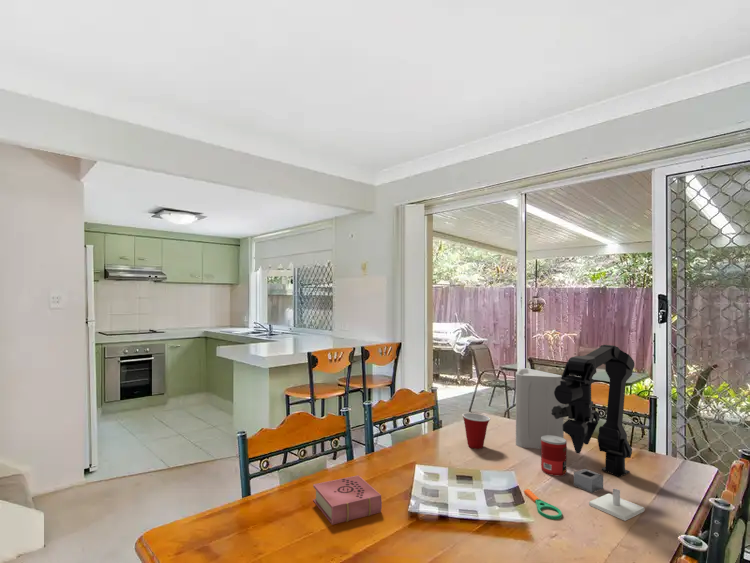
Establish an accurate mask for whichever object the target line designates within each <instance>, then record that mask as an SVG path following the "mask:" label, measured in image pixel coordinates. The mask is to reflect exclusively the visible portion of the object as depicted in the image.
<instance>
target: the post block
mask: <svg viewBox="0 0 750 563" xmlns="http://www.w3.org/2000/svg"><path fill="white" fill-rule="evenodd" d="M588 503H589V504H588V505H589V506H590V507H592V508H594V509H597V510H600V511H602V512H604V513H606V514H608V515H611V516H613V517H615V518H617V519H619V520H622V521H624V522H626V521H627V520H630V519H632V518H634V517H636V516H638V515H640V514H642V513H643V512H645V507H644V506H642V505H639V504H638V503H637V504H636V503H634V502H631V501H630V500H626V499H625V498H622V497H621V490H620V489H618V488H612V493H606V494H603V495H602V496H599V497H597V498H594V499H592V500H590V501H589V502H588Z"/></svg>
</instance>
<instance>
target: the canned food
mask: <svg viewBox="0 0 750 563" xmlns="http://www.w3.org/2000/svg"><path fill="white" fill-rule="evenodd" d="M567 446H568V444H567V439H565V438H562V437H558V436H552V435H546V436H542V437H541V449H540V466H541V471H542V472H543V473H545V474H546V475H550V476H555V477H561V476H565V475H566V473H567V466H568V465H567V460H568V459H567V457H568V456H567V452H568V449H567Z"/></svg>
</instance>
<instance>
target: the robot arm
mask: <svg viewBox="0 0 750 563" xmlns="http://www.w3.org/2000/svg"><path fill="white" fill-rule="evenodd" d="M602 365H605V369H604V370H605V373H606V375H607V377H608V379H609V386H608V397H607V408H606V418H605V423H603V425H600V426H599V428H598V434H597V444H598V449H599V452H602V453H605V466H604V467H601V469H600V470H601V471H603V472H606V473H608V474H611V475H613V476H614V475H615V476H617V477H623V476H625V475H628V474H629V473H630V471H631V470H628V469H626V459H630V458H631V457H632V454H633V448H632V446H631V445H630V443H629V441H628V436H627V435H628V433H627V432H626V429H625V427H624V426H623V421H624V420H623V418H624V407H625V395H626V386H627V384H626V383H627V381H628V380H629V379H630V378H631V377H632V375H633V371H634V368H635V361H634V359H633V357H631V355H630V354H628V353H626V352H625V351H623V350H621V349H620V348H619V346H617V345H611V344H602V345H600V347H598V348H596V349H595V350H593V351H591V352H588V353H587V354H585V355H576V356H571V357H569V359H568V360H567V361H566V364H565V367H564V369H563V372H562V377H561V379H562V381H560V385H558V386H557V387H556V388H555V391H554V395H555V398H556V399H557V401H558V402H560V403H562V404H564V405H560V406H559V405H558V406H554V407H553V409H552V413H551V414H552V415H554V417H555V419H559V418H562V417H564V418H566V417H568V418H567V420H566V421H564V424H563V431H564V433H565V434H567V435H568V436H569V437H570V438H571V442H572V445H573V448H574V451H575V453H576V454H579V455H580V454H581V451H582V449H583V447H584V445H589V443H590V441H591V439H592V437H593V435H594V433H595V431H596V428H597V426H598V424H599V421H600V413H599V412H598V411H597V410H594V409H592V406H594V401H593V400H592V384H594V382H595V380H594V379H593V377H594V375H595V374H597V368H599V367H601V366H602Z"/></svg>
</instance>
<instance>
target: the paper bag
mask: <svg viewBox="0 0 750 563" xmlns="http://www.w3.org/2000/svg"><path fill="white" fill-rule="evenodd" d="M562 375H563V374H562ZM562 375H561V374H558V373H557V374H556V373H552V372H547V371H542V370H536V369H533V368H532V369H531V368H528V367H527V368H519V369H518V370H517V371H516V373H515V446H517V447H519V448H527V449H538V450H539V449H540V450H541V437H542V436H546V435H552V436H558V437H562V438H564V437H565V436H564V433H565V432H564V431H563V424H564V423H565V421H564V418H565V417H562V418H559V419H555V417H554V415H552V414H551V413H552V409H553V407H554V406H558V405H559V406H560V405H565V404H562V403H560V402H558V401H557V399H556V398H555V395H554V391H555V388H556V387H557V386H558V385H560V381H562V379H561V377H562ZM564 439H565V438H564Z"/></svg>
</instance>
